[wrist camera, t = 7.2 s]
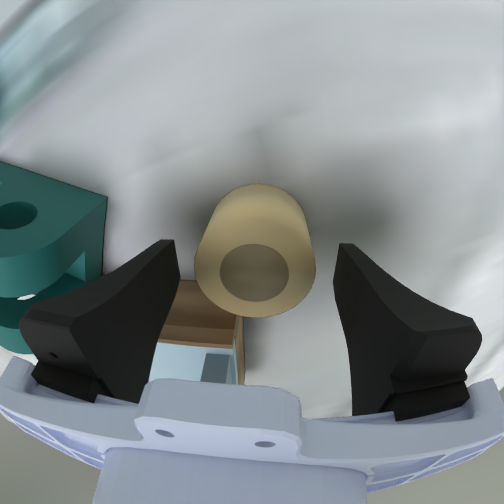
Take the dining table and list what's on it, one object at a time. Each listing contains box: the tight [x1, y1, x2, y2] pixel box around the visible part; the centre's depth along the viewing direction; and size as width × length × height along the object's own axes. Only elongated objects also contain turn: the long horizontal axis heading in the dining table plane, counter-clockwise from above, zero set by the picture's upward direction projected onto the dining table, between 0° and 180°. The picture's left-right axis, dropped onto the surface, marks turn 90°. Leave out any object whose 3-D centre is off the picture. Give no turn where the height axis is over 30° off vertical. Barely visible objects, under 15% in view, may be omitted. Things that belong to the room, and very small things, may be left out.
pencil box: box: [101, 275, 245, 385], centre depth 18 cm, size 9×14×5 cm, turn 91°
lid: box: [148, 338, 239, 385], centre depth 15 cm, size 8×13×3 cm, turn 91°
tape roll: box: [194, 184, 316, 318], centre depth 14 cm, size 5×5×4 cm
